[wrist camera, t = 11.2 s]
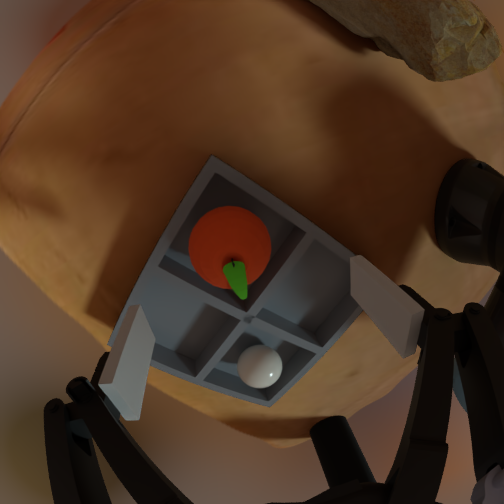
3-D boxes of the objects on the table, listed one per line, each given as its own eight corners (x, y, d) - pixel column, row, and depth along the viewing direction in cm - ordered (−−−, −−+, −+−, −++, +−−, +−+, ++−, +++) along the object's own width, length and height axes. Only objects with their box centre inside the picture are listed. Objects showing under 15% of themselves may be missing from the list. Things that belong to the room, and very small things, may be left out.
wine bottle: (345, 410, 43) (408, 540, 15) (346, 427, 46) (399, 542, 18) (307, 425, 43) (358, 562, 15) (311, 440, 46) (356, 561, 18)
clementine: (272, 265, 29) (291, 302, 22) (207, 284, 28) (207, 326, 22) (253, 189, 25) (268, 206, 19) (180, 211, 25) (171, 236, 19)
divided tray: (369, 265, 32) (386, 280, 28) (264, 386, 37) (269, 407, 33) (211, 153, 25) (211, 155, 21) (115, 323, 30) (107, 344, 26)
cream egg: (285, 344, 33) (296, 374, 28) (260, 371, 34) (268, 401, 29) (250, 329, 31) (258, 359, 26) (226, 358, 32) (230, 389, 28)
